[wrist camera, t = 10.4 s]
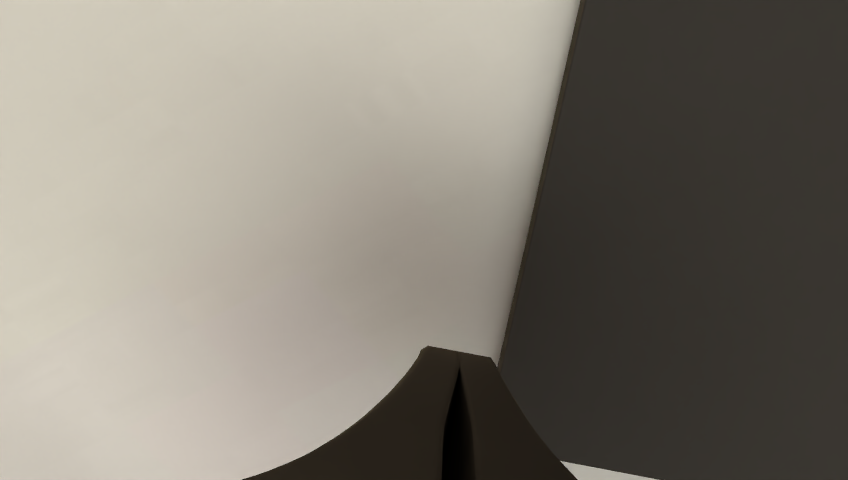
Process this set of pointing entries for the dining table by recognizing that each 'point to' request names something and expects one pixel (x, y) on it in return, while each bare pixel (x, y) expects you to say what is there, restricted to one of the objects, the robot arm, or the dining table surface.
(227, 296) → the dining table surface
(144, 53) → the dining table surface
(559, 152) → the mat
